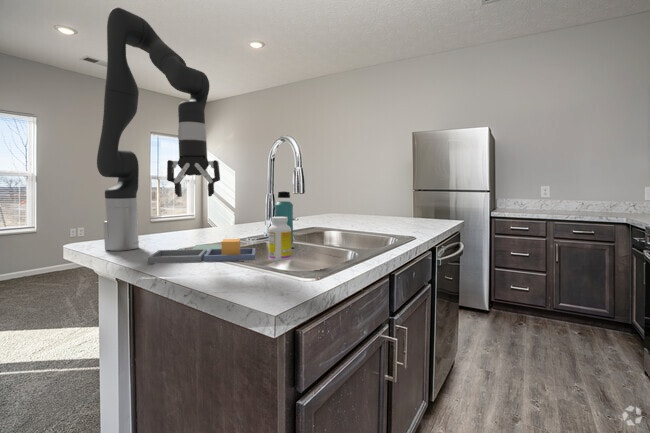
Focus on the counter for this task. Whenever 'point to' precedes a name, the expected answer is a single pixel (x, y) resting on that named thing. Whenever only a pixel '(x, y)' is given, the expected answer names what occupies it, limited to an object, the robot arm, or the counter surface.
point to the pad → (208, 246)
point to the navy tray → (217, 255)
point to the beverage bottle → (285, 210)
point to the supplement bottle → (279, 239)
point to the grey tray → (177, 256)
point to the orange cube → (230, 247)
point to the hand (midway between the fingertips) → (194, 196)
